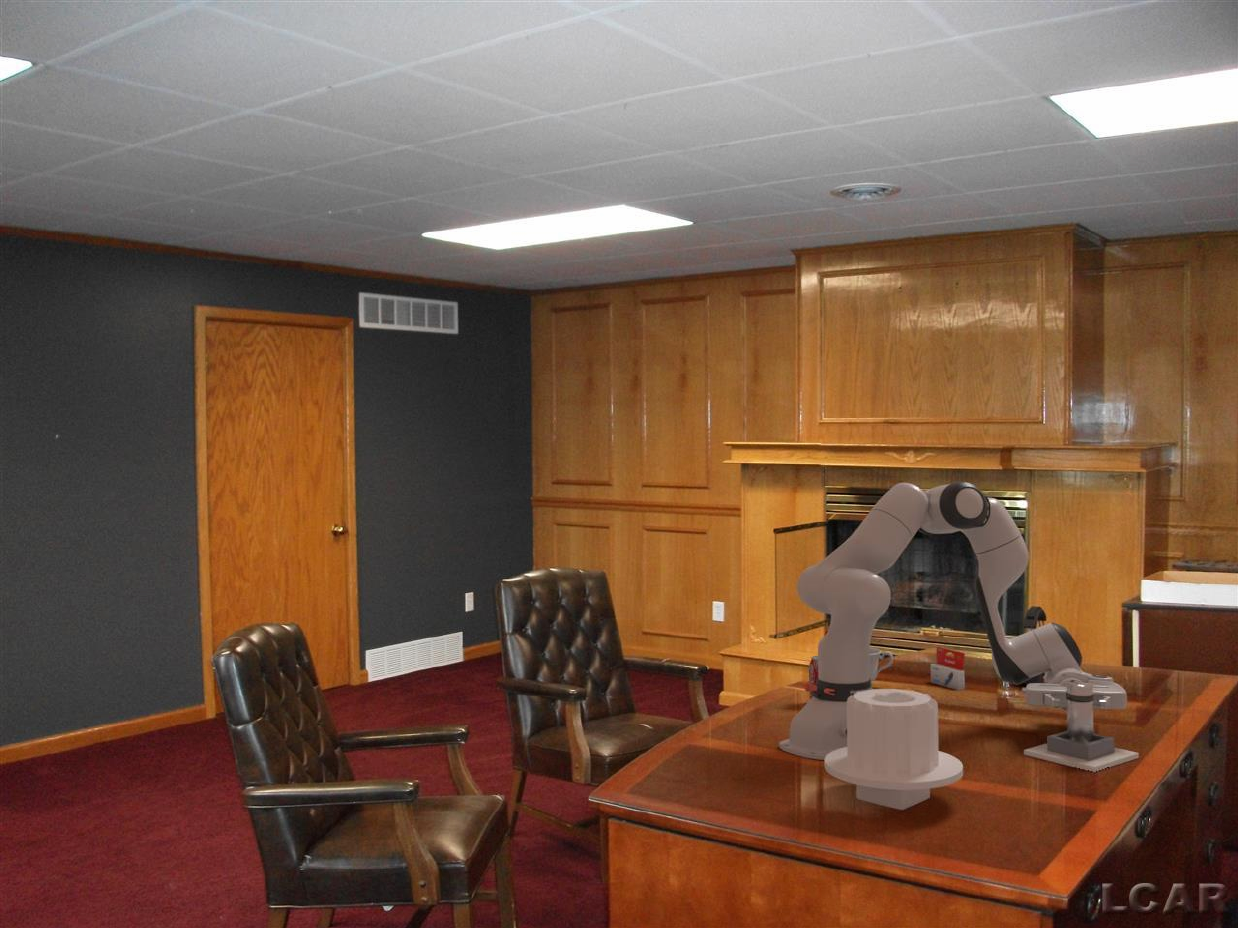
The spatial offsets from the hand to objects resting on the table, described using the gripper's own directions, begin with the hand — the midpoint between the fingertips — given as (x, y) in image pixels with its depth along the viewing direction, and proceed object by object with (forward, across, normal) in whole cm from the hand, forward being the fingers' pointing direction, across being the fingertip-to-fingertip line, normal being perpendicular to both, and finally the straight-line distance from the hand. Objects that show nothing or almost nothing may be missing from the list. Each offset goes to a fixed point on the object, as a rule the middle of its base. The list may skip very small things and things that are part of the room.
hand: (1079, 704), depth 231 cm
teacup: (-57, -46, +11) cm, 75 cm away
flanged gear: (+36, -37, +11) cm, 53 cm away
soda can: (-35, -56, +11) cm, 67 cm away
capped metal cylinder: (+1, 0, +10) cm, 10 cm away
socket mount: (+1, 0, +11) cm, 11 cm away
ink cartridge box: (-63, -25, +11) cm, 68 cm away
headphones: (-76, -1, +11) cm, 76 cm away
